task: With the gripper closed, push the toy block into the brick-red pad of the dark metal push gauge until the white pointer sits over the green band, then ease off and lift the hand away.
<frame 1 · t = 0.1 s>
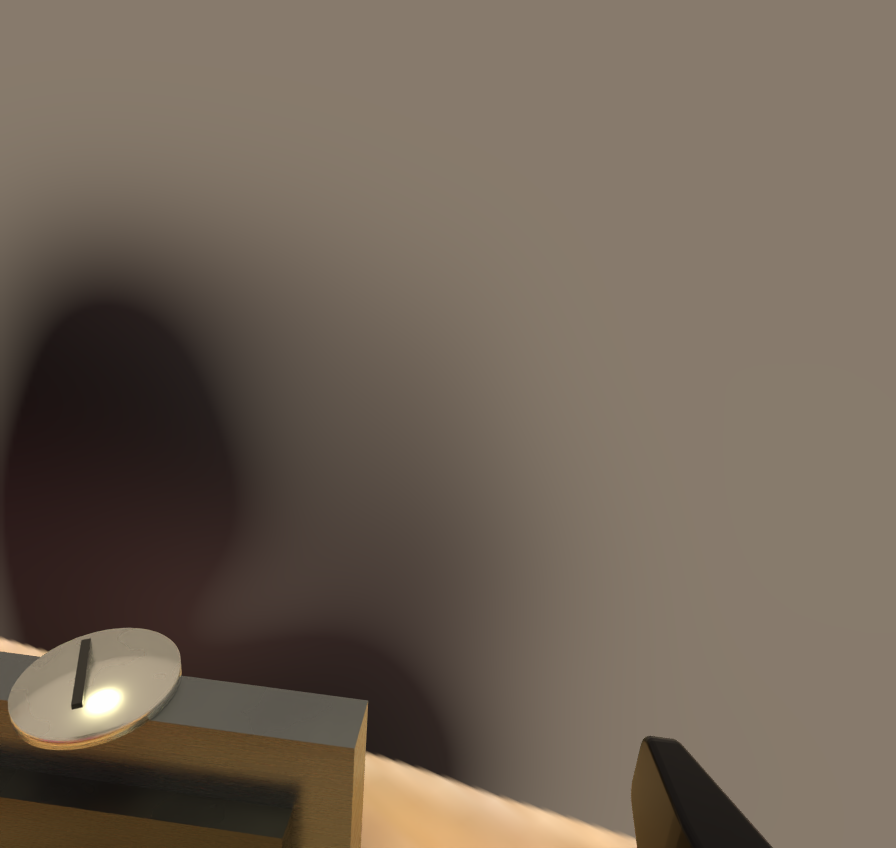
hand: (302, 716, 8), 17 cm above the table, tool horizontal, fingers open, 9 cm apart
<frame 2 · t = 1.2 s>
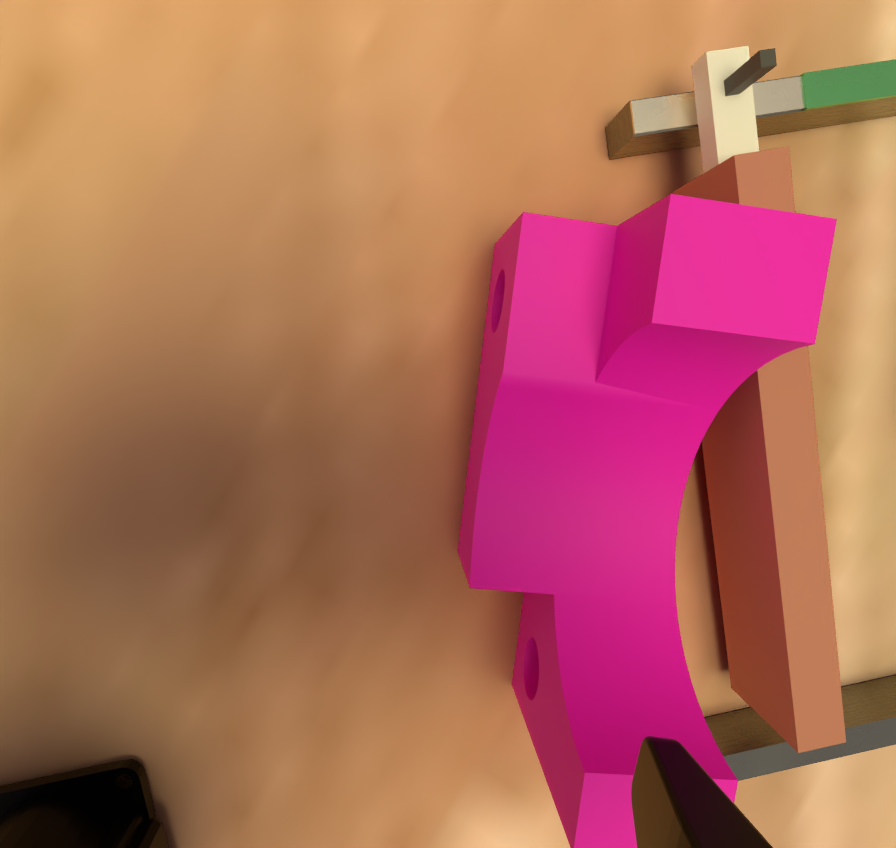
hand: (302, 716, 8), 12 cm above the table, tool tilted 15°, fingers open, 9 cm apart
gauge plunger: (756, 410, 18), point 3 cm above the table, slide at 0.5 cm
toy block: (553, 476, 21), on the table
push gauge: (838, 421, 21), on the table
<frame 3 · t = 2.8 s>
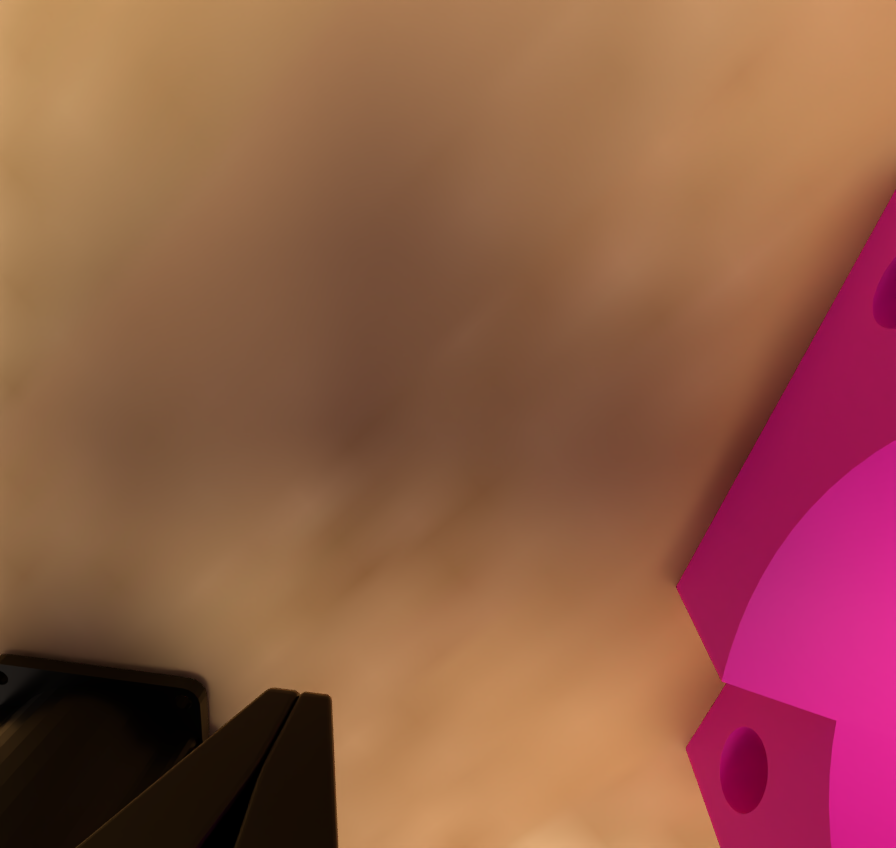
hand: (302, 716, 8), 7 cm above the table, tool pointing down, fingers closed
toy block: (840, 526, 15), on the table
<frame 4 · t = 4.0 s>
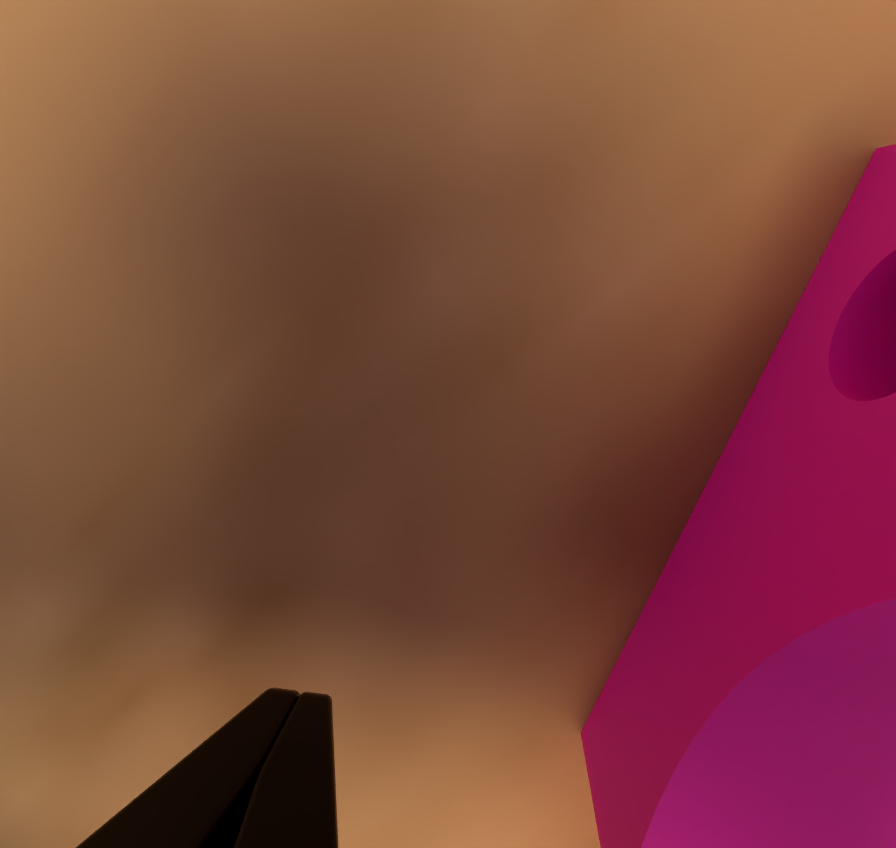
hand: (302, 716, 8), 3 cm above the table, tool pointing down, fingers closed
toy block: (803, 649, 11), on the table
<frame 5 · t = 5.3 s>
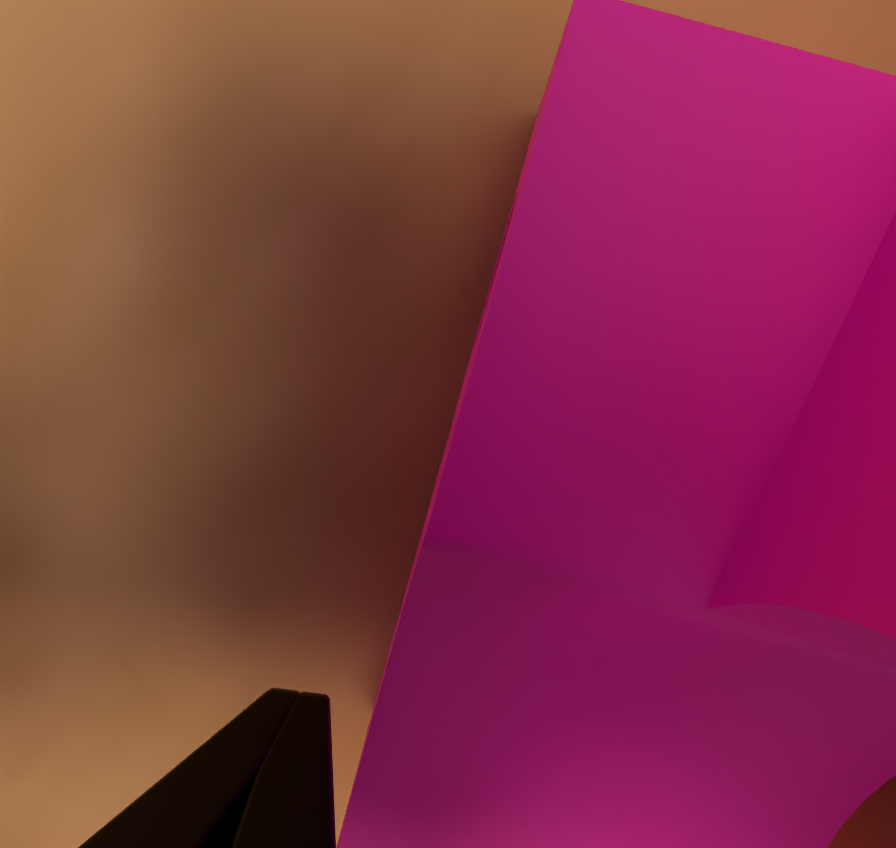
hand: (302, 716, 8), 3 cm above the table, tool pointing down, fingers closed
toy block: (578, 616, 11), on the table, touching gripper
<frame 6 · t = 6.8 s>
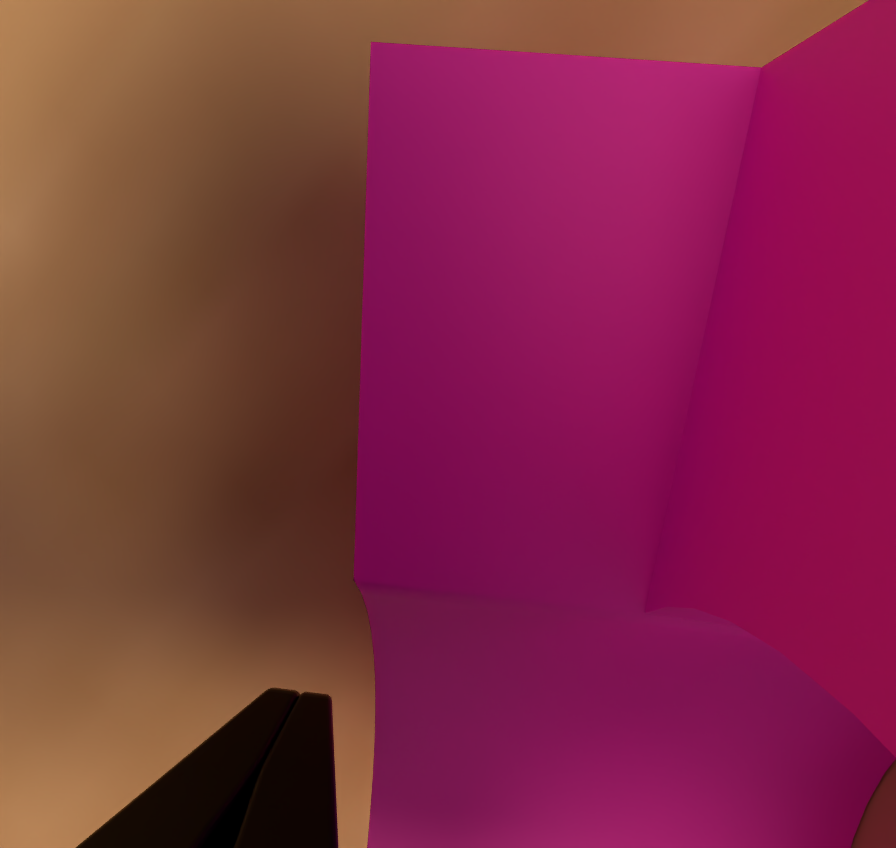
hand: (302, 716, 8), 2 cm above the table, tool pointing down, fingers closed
toy block: (583, 619, 11), on the table
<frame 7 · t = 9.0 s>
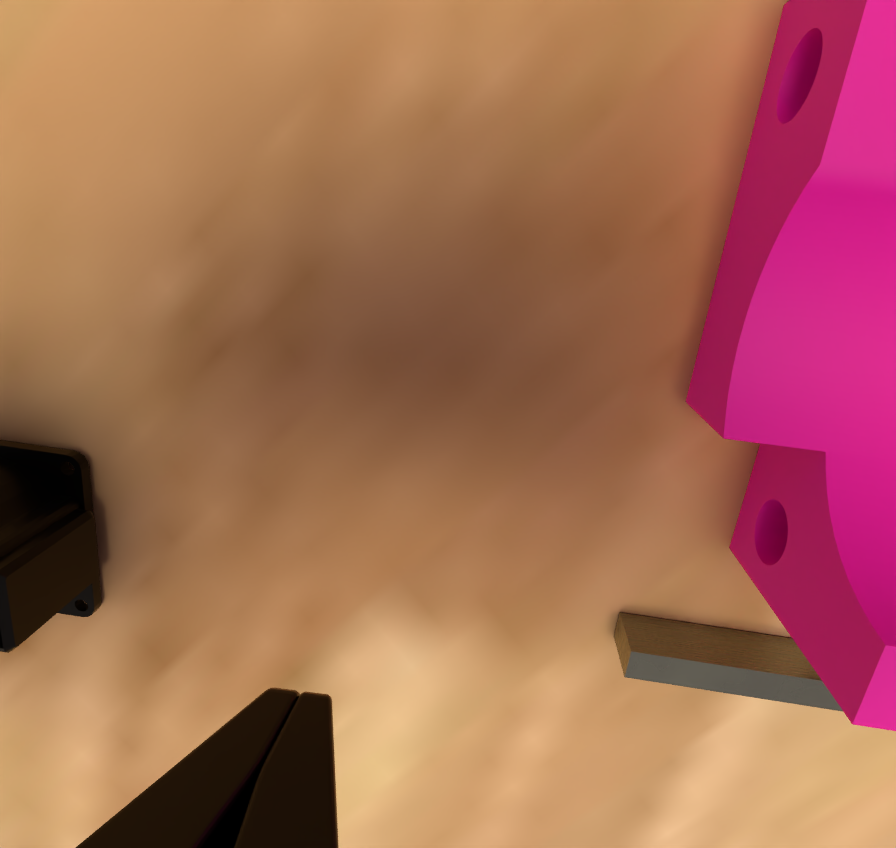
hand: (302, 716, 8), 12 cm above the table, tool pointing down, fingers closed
toy block: (812, 319, 17), on the table
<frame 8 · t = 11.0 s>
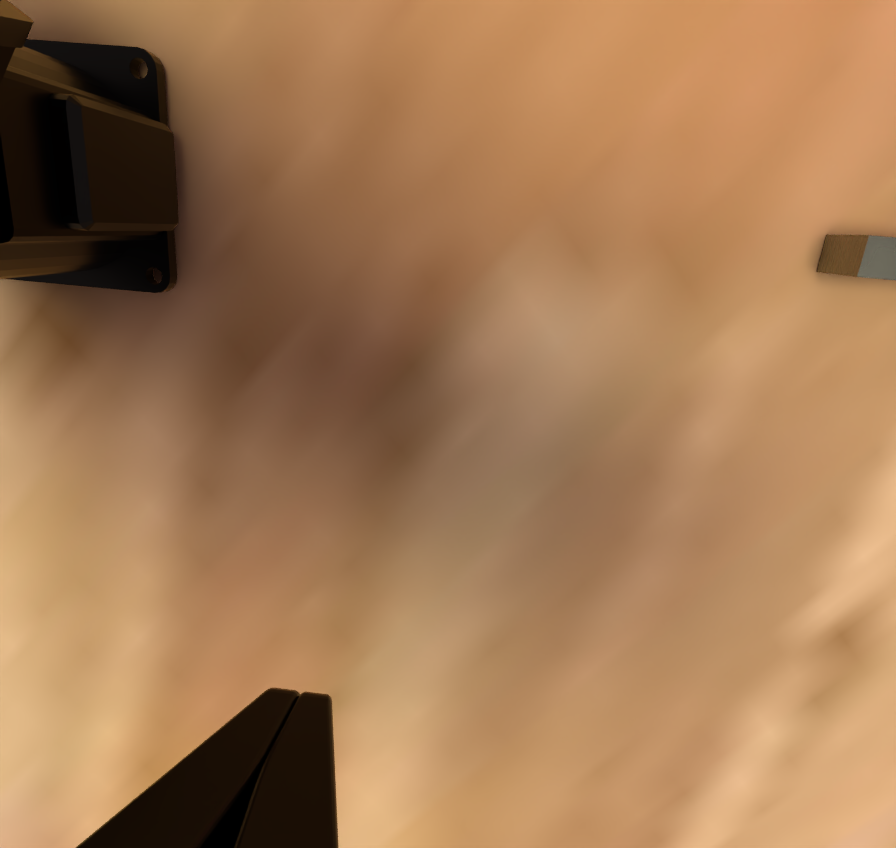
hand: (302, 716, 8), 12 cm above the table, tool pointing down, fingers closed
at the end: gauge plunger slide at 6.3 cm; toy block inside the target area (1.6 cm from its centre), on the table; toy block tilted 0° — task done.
